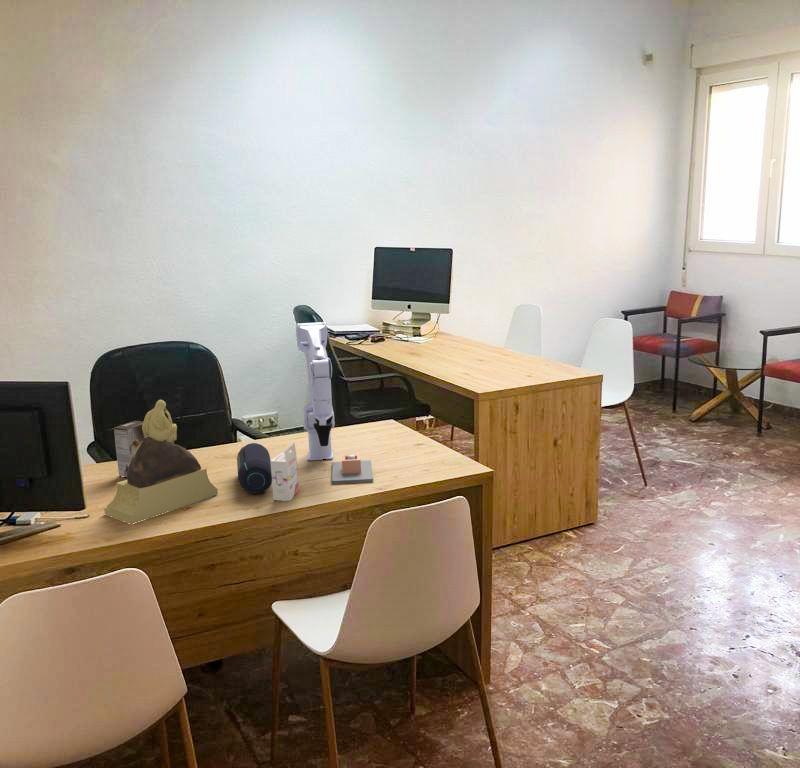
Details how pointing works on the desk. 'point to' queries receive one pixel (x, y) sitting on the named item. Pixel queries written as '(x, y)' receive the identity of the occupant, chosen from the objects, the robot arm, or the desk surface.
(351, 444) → the desk surface
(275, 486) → the ink cartridge box
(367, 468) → the post base
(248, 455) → the portable speaker
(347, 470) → the collar
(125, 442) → the coffee box
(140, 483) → the seated figure statue
